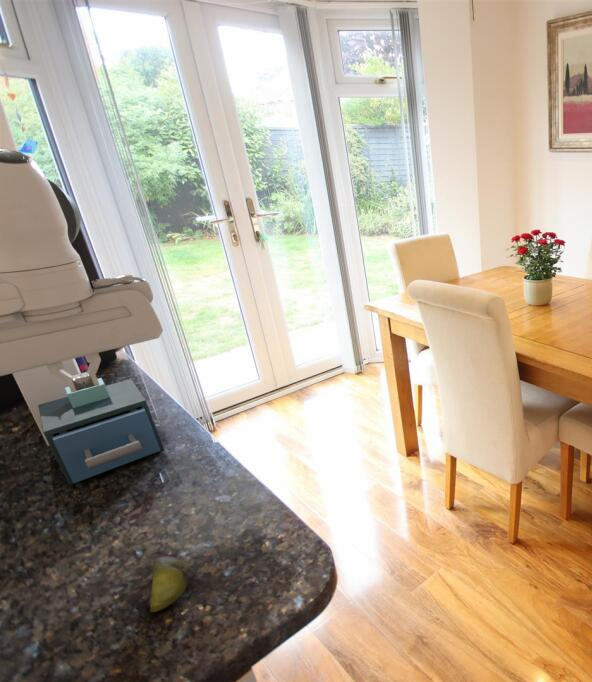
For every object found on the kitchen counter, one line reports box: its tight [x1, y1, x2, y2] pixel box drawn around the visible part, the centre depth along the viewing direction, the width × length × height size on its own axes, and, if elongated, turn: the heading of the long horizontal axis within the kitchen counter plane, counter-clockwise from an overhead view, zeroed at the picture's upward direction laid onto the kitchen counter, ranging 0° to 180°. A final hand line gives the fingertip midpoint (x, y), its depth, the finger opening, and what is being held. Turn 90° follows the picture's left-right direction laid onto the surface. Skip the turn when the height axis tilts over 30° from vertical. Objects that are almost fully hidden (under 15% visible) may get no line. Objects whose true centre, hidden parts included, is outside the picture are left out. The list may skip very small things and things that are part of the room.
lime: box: [149, 556, 188, 614], centre depth 48 cm, size 4×5×5 cm
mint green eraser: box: [65, 377, 110, 408], centre depth 71 cm, size 3×4×2 cm
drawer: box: [52, 408, 160, 484], centre depth 69 cm, size 15×10×7 cm
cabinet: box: [38, 378, 165, 486], centre depth 72 cm, size 12×12×9 cm
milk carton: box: [11, 358, 81, 447], centre depth 77 cm, size 7×7×19 cm
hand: (85, 387), depth 62 cm, fingers closed
